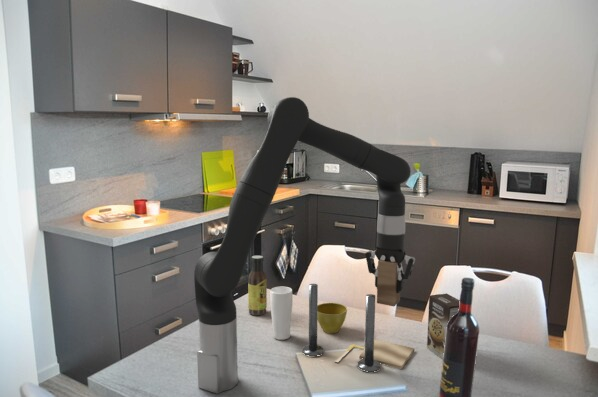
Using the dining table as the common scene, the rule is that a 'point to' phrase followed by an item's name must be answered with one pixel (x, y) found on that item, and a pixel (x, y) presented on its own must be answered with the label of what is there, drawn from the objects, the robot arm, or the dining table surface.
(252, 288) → the sauce bottle
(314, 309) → the post left
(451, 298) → the coffee box
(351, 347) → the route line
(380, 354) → the pad
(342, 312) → the flower pot
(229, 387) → the robot arm
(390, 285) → the walnut block
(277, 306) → the drinking glass
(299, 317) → the dining table surface
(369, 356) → the post right
